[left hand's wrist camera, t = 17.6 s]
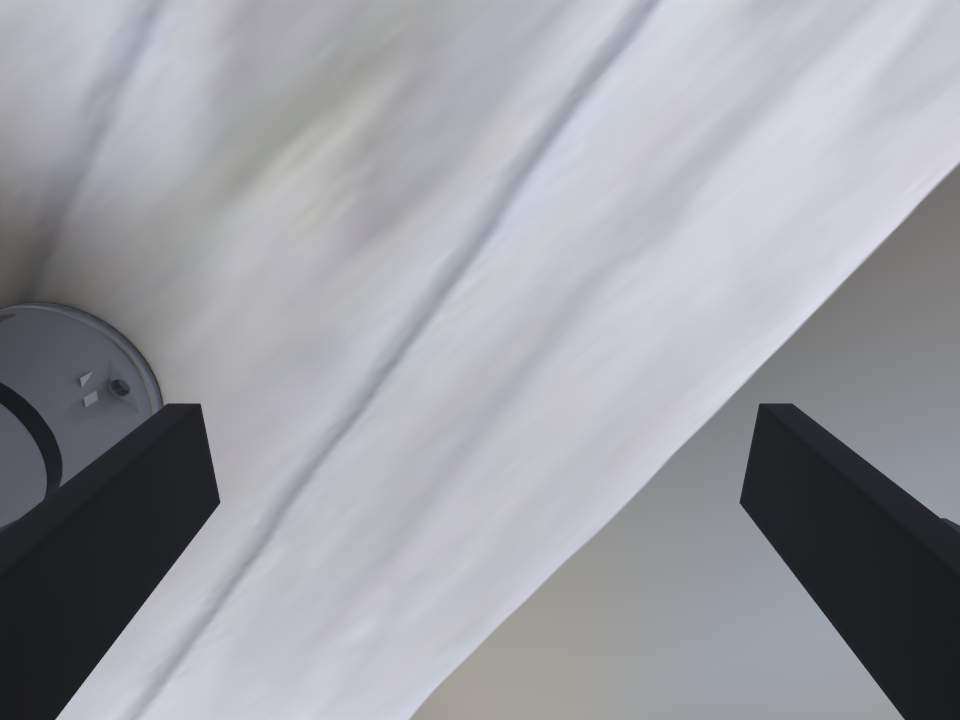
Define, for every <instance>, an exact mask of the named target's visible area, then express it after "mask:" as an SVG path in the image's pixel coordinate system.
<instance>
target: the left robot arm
mask: <svg viewBox="0 0 960 720" xmlns="http://www.w3.org/2000/svg"><path fill="white" fill-rule="evenodd" d="M219 504H220V498H219V493H218V488H217V483H216V478H215V473H214V469H213V464H212V459H211V454H210V449H209V444H208V439H207V434H206V429H205V424H204V419H203V414H202V409H201V404H167V405H165V406H164V407H163V408H162V403H161V397H160V393H159V389H158V386H157V383H156V381H155V379H154V376H153V374H152V372H151V370H150V369H149V367H148V365H147V363H146V362H145V361H144V359H143V358H142V356H141V355H140V354H139V353H138V351H137V350H136V349H135V348H134V347H133V346H132V345H131V344H130V343H129V342H128V341H127V340H126V339H125V338H124V337H123V336H122V335H121V334H120V333H118V332H117V331H116V330H114V329H113V328H112V327H110V326H109V325H107V324H106V323H104V322H103V321H101V320H99V319H97V318H95V317H93V316H92V315H89V314H87V313H85V312H82V311H80V310H77V309H74V308H71V307H67V306H63V305H58V304H52V303H41V302H39V303H23V304H18V305H13V306H10V307H7V308H3V309H0V720H55V719H56V718H57V717H58V715H59V714H60V713H61V711H62V710H63V709H64V707H65V706H66V705H67V703H68V702H69V701H70V700H71V698H72V697H73V696H74V694H75V693H76V692H77V690H78V689H79V688H80V686H81V685H82V684H83V682H84V681H85V680H86V679H87V677H88V676H89V675H90V673H91V672H92V671H93V669H94V668H95V667H96V665H97V664H98V663H99V661H100V660H101V659H102V658H103V656H104V655H105V654H106V652H107V651H108V650H109V648H110V647H111V646H112V644H113V643H114V642H115V640H116V639H117V638H118V637H119V635H120V634H121V633H122V631H123V630H124V629H125V627H126V626H127V625H128V623H129V622H130V621H131V619H132V618H133V617H134V616H135V614H136V613H137V612H138V610H139V609H140V608H141V606H142V605H143V604H144V602H145V601H146V600H147V598H148V597H149V596H150V594H151V593H152V592H153V591H154V589H155V588H156V587H157V585H158V584H159V583H160V581H161V580H162V579H163V577H164V576H165V575H166V573H167V572H168V571H169V570H170V568H171V567H172V566H173V564H174V563H175V562H176V560H177V559H178V558H179V556H180V555H181V554H182V552H183V551H184V550H185V549H186V547H187V546H188V545H189V543H190V542H191V541H192V539H193V538H194V537H195V535H196V534H197V533H198V531H199V530H200V529H201V528H202V526H203V525H204V524H205V522H206V521H207V520H208V518H209V517H210V516H211V514H212V513H213V512H214V510H215V509H216V508H217V507H218V505H219ZM740 504H741V505H742V507H743V508H744V509H745V510H746V512H747V513H748V514H749V516H750V517H751V518H752V520H753V521H754V522H755V524H756V525H757V526H758V528H759V529H760V530H761V531H762V533H763V534H764V535H765V537H766V538H767V539H768V541H769V542H770V543H771V545H772V546H773V547H774V549H775V550H776V551H777V552H778V554H779V555H780V556H781V558H782V559H783V560H784V562H785V563H786V564H787V566H788V567H789V568H790V570H791V571H792V572H793V573H794V575H795V576H796V577H797V579H798V580H799V581H800V583H801V584H802V585H803V587H804V588H805V589H806V590H807V592H808V593H809V594H810V596H811V597H812V598H813V600H814V601H815V602H816V604H817V605H818V606H819V608H820V609H821V610H822V612H823V613H824V614H825V615H826V617H827V618H828V619H829V621H830V622H831V623H832V625H833V626H834V627H835V629H836V630H837V631H838V633H839V634H840V635H841V636H842V638H843V639H844V640H845V642H846V643H847V644H848V646H849V647H850V648H851V650H852V651H853V652H854V653H855V655H856V656H857V658H858V659H859V660H860V661H861V663H862V664H863V665H864V667H865V668H866V669H867V671H868V672H869V673H870V675H871V676H872V677H873V679H874V680H875V681H876V682H877V684H878V685H879V686H880V688H881V689H882V690H883V692H884V693H885V694H886V696H887V697H888V698H889V700H890V701H891V702H892V703H893V705H894V706H895V707H896V709H897V710H898V711H899V713H900V714H901V715H902V717H903V718H904V719H905V720H960V526H959V525H957V524H955V523H953V522H951V521H950V520H948V519H945V518H939V517H938V516H937V515H935V514H934V513H933V512H931V511H930V510H929V509H928V508H926V507H925V506H924V505H922V504H921V503H920V502H918V501H917V500H916V499H915V498H913V497H912V496H911V495H910V494H908V493H907V492H906V491H904V490H903V489H902V488H900V487H899V486H898V485H897V484H895V483H894V482H893V481H891V480H890V479H889V478H888V477H886V476H885V475H884V474H882V473H881V472H880V471H878V470H877V469H876V468H875V467H873V466H872V465H871V464H869V463H868V462H867V461H866V460H864V459H863V458H862V457H860V456H859V455H858V454H857V453H855V452H854V451H853V450H851V449H850V448H849V447H847V446H846V445H845V444H844V443H842V442H841V441H840V440H838V439H837V438H836V437H835V436H833V435H832V434H831V433H829V432H828V431H827V430H826V429H824V428H823V427H822V426H820V425H819V424H818V423H816V422H815V421H814V420H813V419H811V418H810V417H809V416H807V415H806V414H805V413H804V412H802V411H801V410H800V409H798V408H797V407H796V406H795V405H793V404H759V409H758V414H757V419H756V424H755V429H754V434H753V439H752V444H751V449H750V454H749V459H748V464H747V469H746V474H745V478H744V483H743V489H742V494H741V498H740Z"/></svg>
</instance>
